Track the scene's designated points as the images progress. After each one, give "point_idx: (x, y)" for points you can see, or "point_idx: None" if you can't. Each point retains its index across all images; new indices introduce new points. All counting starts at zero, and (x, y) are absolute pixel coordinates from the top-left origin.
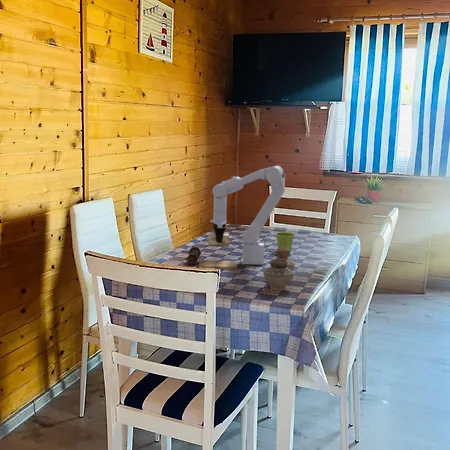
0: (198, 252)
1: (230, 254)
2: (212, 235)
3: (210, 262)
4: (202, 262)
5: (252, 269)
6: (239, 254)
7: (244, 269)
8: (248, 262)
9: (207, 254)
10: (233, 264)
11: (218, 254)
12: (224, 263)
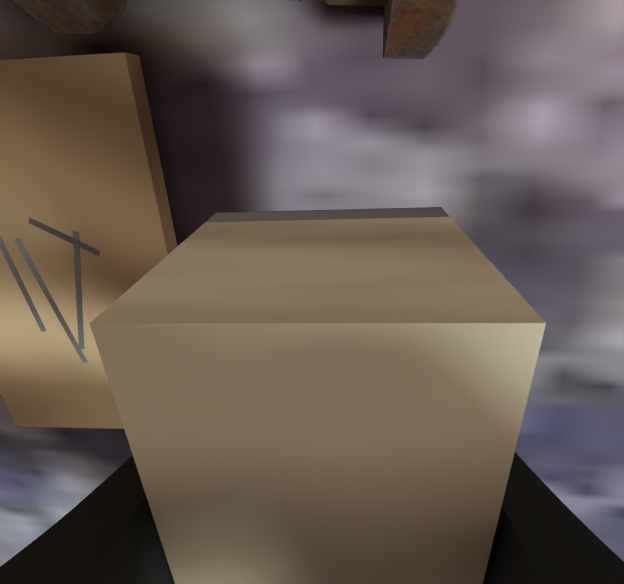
0: (386, 1)
1: (557, 392)
2: (129, 428)
3: (66, 207)
4: (23, 108)
5: (72, 494)
6: (547, 458)
7: (49, 453)
8: None
9: (594, 146)
10: (80, 407)
11: (574, 281)
12: (80, 342)
